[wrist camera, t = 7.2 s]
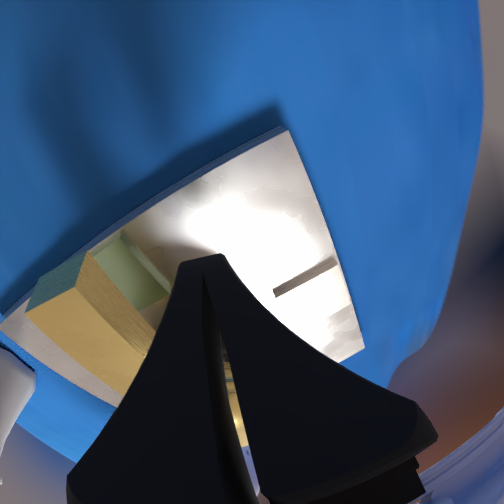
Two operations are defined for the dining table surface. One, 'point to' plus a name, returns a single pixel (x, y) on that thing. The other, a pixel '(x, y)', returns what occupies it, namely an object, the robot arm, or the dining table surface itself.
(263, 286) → the base plate
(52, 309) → the gold bar with disc
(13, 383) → the flask
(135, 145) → the dining table surface
